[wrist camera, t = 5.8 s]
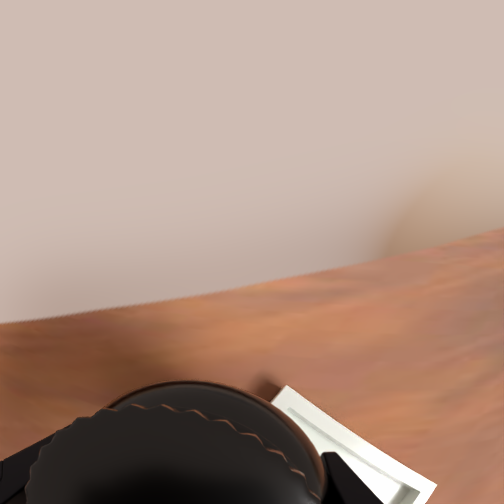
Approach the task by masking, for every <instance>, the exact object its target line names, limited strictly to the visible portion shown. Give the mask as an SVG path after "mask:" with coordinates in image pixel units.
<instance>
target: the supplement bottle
mask: <svg viewBox="0 0 504 504" xmlns="http://www.w3.org/2000/svg"><path fill="white" fill-rule="evenodd" d="M25 494H26V499H27V502H26V504H330V487H329V482H328V477H327V473H326V470H325V467H324V464H323V462H322V460H321V457H320V455H319V453H318V451H317V450H316V448H315V446H314V444H313V443H312V442H311V440H310V439H309V437H308V436H307V435H306V434H305V432H304V431H303V430H302V429H301V428H300V427H299V426H298V425H297V424H296V423H295V422H294V421H293V420H292V419H291V418H290V417H289V416H288V415H286V414H285V413H284V412H283V411H281V410H280V409H279V408H277V407H276V406H274V405H273V404H271V403H270V402H268V401H266V400H264V399H262V398H260V397H259V396H257V395H254V394H252V393H250V392H248V391H245V390H242V389H240V388H237V387H234V386H230V385H226V384H223V383H218V382H212V381H206V380H195V379H180V380H168V381H162V382H156V383H152V384H148V385H144V386H142V387H139V388H136V389H133V390H131V391H129V392H127V393H125V394H122V395H121V396H119V397H117V398H116V399H114V400H112V401H111V402H110V403H108V404H107V405H106V406H104V407H103V408H102V409H101V410H99V411H98V412H96V413H95V415H93V416H92V417H78V418H76V420H75V421H74V422H73V423H72V425H71V426H70V427H69V428H66V429H61V430H57V431H56V433H55V434H54V436H53V438H52V440H51V442H50V443H48V444H46V445H44V446H42V447H41V448H40V452H39V457H38V460H37V461H35V462H34V463H33V464H32V465H31V466H30V480H29V481H28V482H27V484H26V486H25Z"/></svg>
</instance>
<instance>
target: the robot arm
mask: <svg viewBox="0 0 504 504" xmlns="http://www.w3.org/2000/svg"><path fill="white" fill-rule="evenodd" d="M71 425H72V424H70V425H68V426H67V427H65V428H63V429H66V428H69V427H70V426H71ZM54 434H55V433H54ZM54 434H52V435H50V436H48V437H46V438H44V439H43V440H41V441H39V442H37V443H35V444H33V445H31V446H29V447H27V448H25V449H24V450H22V451H20V452H18V453H16V454H14V455H12V456H10V457H8V458H6V459H4V461H0V504H26V502H27V499H26V494H25V486H26V484H27V482H28V481H29V480H30V466H31V465H32V464H33V463H34V462H35V461H37V460H38V457H39V452H40V448H41V447H42V446H44V445H46V444H48V443H50V442H51V440H52V438H53V436H54ZM320 457H321V460H322V462H323V464H324V467H325V470H326V473H327V477H328V482H329V487H330V504H384V503H383V502H382V501H381V500H380V499H379V498H378V497H377V496H376V495H375V494H374V493H373V492H372V490H371V489H370V488H369V487H368V486H367V485H366V484H365V483H364V482H363V481H362V480H361V479H360V478H359V477H358V475H357V474H356V473H355V472H354V471H353V470H352V469H351V468H350V467H349V466H348V464H347V463H346V462H345V461H344V460H343V459H342V458H341V457H340V456H339V454H338V453H336V452H333V451H332V452H323V453H322V454H321V456H320Z"/></svg>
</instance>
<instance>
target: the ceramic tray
mask: <svg viewBox="0 0 504 504" xmlns="http://www.w3.org/2000/svg"><path fill="white" fill-rule="evenodd" d="M270 403H271V404H273V405H274V406H276V407H277V408H279V409H280V410H281V411H283V412H284V413H285V414H286V415H288V416H289V417H290V418H291V419H292V420H293V421H294V422H295V423H296V424H297V425H298V426H299V427H300V428H301V429H302V430H303V431H304V432H305V434H306V435H307V436H308V437H309V439H310V440H311V442H312V443H313V444H314V446H315V448H316V450H317V451H318V453H319V455H320V456H321V454H322V453H323V452H332V451H333V452H336V453H338V454H339V456H340V457H341V458H342V459H343V460H344V461H345V462H346V463H347V464H348V466H349V467H350V468H351V469H352V470H353V471H354V472H355V473H356V474H357V475H358V477H359V478H360V479H361V480H362V481H363V482H364V483H365V484H366V485H367V486H368V487H369V488H370V489H371V490H372V492H373V493H374V494H375V495H376V496H377V497H378V498H379V499H380V500H381V501H382V502H383V503H384V504H425V503H426V501H427V500H428V498H429V497H430V495H431V494H432V492H433V490H434V489H435V487H436V486H437V485H436V484H435V483H433V482H431V481H429V480H428V479H426V478H424V477H423V476H421V475H419V474H417V473H416V472H414V471H412V470H411V469H409V468H407V467H406V466H404V465H402V464H401V463H399V462H398V461H396V460H394V459H393V458H391V457H390V456H388V455H386V454H385V453H383V452H382V451H380V450H379V449H377V448H375V447H374V446H372V445H371V444H369V443H368V442H366V441H365V440H363V439H362V438H360V437H359V436H357V435H356V434H354V433H353V432H351V431H350V430H348V429H347V428H346V427H344V426H343V425H341V424H340V423H338V422H337V421H335V420H334V419H333V418H331V417H330V416H328V415H327V414H326V413H324V412H323V411H321V410H320V409H319V408H317V407H316V406H314V405H313V404H312V403H310V402H309V401H308V400H306V399H305V398H303V397H302V396H301V395H299V394H298V393H297V392H295V391H294V390H293V389H291V388H290V387H289V386H288V385H286V386H284V387H283V388H282V389H281V390H280V391H279V392H278V393H277V395H276V396H275V397H274V398H273V399H272V401H271V402H270Z"/></svg>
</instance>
